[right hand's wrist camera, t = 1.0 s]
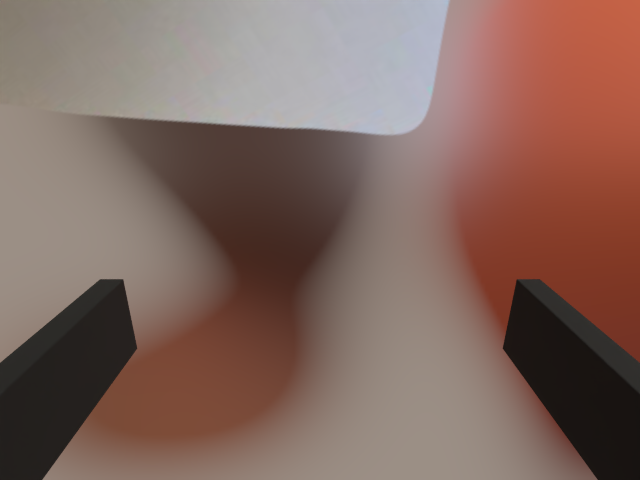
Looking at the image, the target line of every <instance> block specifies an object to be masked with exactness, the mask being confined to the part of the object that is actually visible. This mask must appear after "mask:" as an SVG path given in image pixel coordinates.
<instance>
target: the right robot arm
mask: <svg viewBox="0 0 640 480" xmlns="http://www.w3.org/2000/svg"><path fill="white" fill-rule="evenodd" d="M136 349H137V345H136V340H135V336H134V331H133V326H132V321H131V316H130V311H129V306H128V301H127V296H126V291H125V286H124V281H123V279H101V280H99V281H98V282H96V283H95V284H94V285H93V286H92V287H91V288H89V289H88V290H87V291H86V292H85V293H83V294H82V295H81V296H80V297H79V298H77V299H76V300H75V301H74V302H73V303H71V304H70V305H69V306H68V307H67V308H65V309H64V310H63V311H62V312H61V313H59V314H58V315H57V316H56V317H55V318H53V319H52V320H51V321H50V322H49V323H47V324H46V325H45V326H44V327H43V328H42V329H40V330H39V331H38V332H37V333H35V334H34V335H33V336H32V337H31V338H30V339H28V340H27V341H26V342H25V343H24V344H22V345H21V346H20V347H19V348H18V349H16V350H15V351H14V352H13V353H12V354H10V355H9V356H8V357H7V358H6V359H4V360H3V361H2V362H1V363H0V480H42V479H43V478H44V477H45V475H46V474H47V472H48V471H49V470H50V468H51V467H52V465H53V464H54V463H55V461H56V460H57V459H58V457H59V456H60V454H61V453H62V452H63V450H64V449H65V447H66V446H67V445H68V443H69V442H70V441H71V439H72V438H73V436H74V435H75V434H76V432H77V431H78V430H79V428H80V427H81V425H82V424H83V423H84V421H85V420H86V418H87V417H88V416H89V414H90V413H91V412H92V410H93V409H94V407H95V406H96V405H97V403H98V402H99V401H100V399H101V398H102V396H103V395H104V393H105V392H106V391H107V389H108V388H109V387H110V385H111V384H112V383H113V381H114V380H115V378H116V377H117V376H118V374H119V373H120V371H121V370H122V369H123V367H124V366H125V365H126V363H127V362H128V360H129V359H130V358H131V356H132V355H133V354H134V352H135V351H136ZM503 349H504V351H505V352H506V354H507V355H508V356H509V358H510V359H511V360H512V362H513V363H514V364H515V366H516V367H517V369H518V370H519V371H520V373H521V374H522V376H523V377H524V378H525V380H526V381H527V382H528V384H529V385H530V387H531V388H532V389H533V391H534V392H535V394H536V395H537V396H538V398H539V399H540V401H541V402H542V403H543V405H544V406H545V407H546V409H547V410H548V411H549V413H550V414H551V416H552V417H553V418H554V420H555V421H556V423H557V424H558V425H559V427H560V428H561V429H562V431H563V432H564V434H565V435H566V436H567V438H568V439H569V441H570V442H571V443H572V445H573V446H574V448H575V449H576V450H577V452H578V453H579V454H580V456H581V457H582V459H583V460H584V461H585V463H586V464H587V465H588V467H589V468H590V470H591V471H592V472H593V474H594V475H595V477H596V478H597V479H598V480H640V363H639V362H638V361H637V360H636V359H634V358H633V357H632V356H631V355H630V354H628V353H627V352H626V351H625V350H624V349H622V348H621V347H620V346H619V345H618V344H617V343H615V342H614V341H613V340H612V339H610V338H609V337H608V336H607V335H606V334H604V333H603V332H602V331H601V330H600V329H599V328H597V327H596V326H595V325H594V324H593V323H591V322H590V321H589V320H588V319H587V318H585V317H584V316H583V315H582V314H581V313H579V312H578V311H577V310H576V309H575V308H573V307H572V306H571V305H570V304H569V303H567V302H566V301H565V300H564V299H563V298H561V297H560V296H559V295H558V294H557V293H555V292H554V291H553V290H552V289H551V288H549V287H548V286H547V285H546V284H545V283H543V282H542V281H541V280H540V279H517V281H516V286H515V291H514V296H513V301H512V306H511V311H510V316H509V321H508V326H507V331H506V336H505V340H504V345H503Z"/></svg>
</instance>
